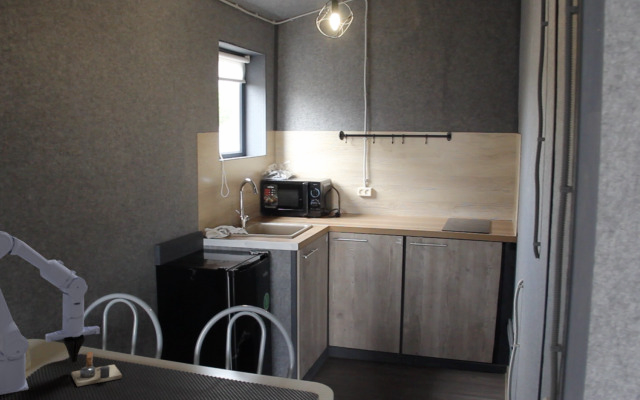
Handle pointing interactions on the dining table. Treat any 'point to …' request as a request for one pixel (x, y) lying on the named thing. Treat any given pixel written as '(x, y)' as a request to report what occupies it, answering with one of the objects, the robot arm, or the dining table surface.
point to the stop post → (104, 372)
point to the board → (96, 376)
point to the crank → (88, 367)
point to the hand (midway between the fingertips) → (73, 361)
